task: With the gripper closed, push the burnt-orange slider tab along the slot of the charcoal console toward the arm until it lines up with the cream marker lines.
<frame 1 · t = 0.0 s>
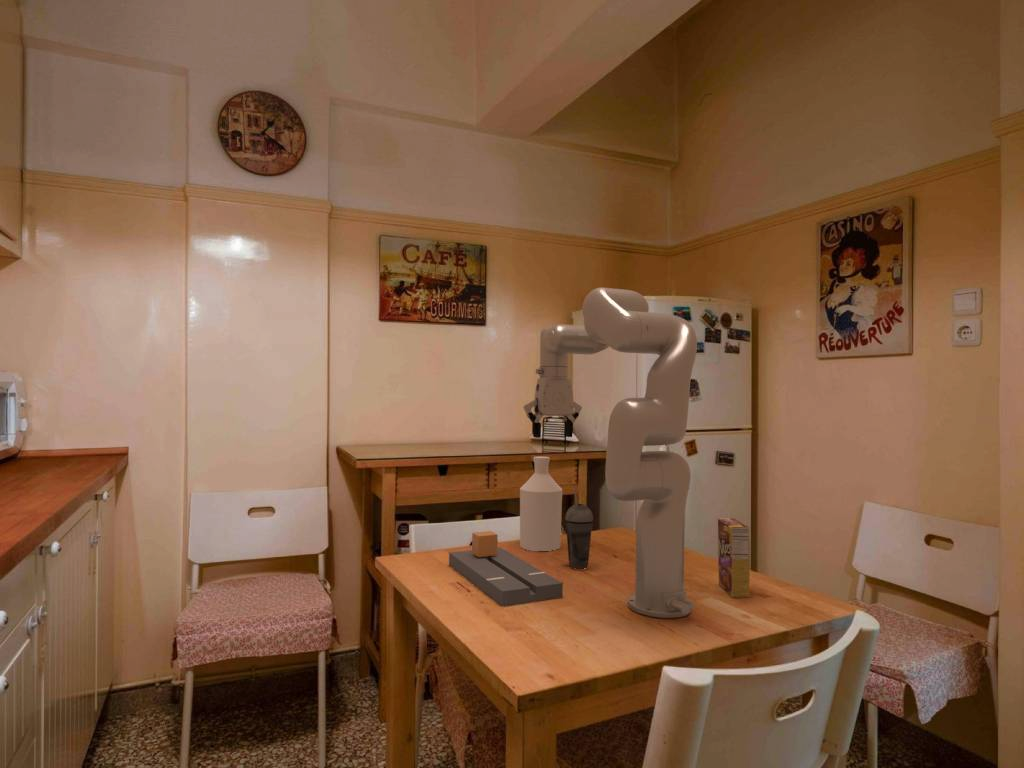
hand: (552, 437, 165), 31 cm above the table, tool pointing down, fingers open, 9 cm apart
beverage cup: (578, 567, 152), on the table
console: (501, 579, 140), on the table
candy box: (732, 592, 135), on the table
slider tab: (484, 547, 150), point 5 cm above the table, slide at 10.0 cm
bottle: (540, 547, 171), on the table
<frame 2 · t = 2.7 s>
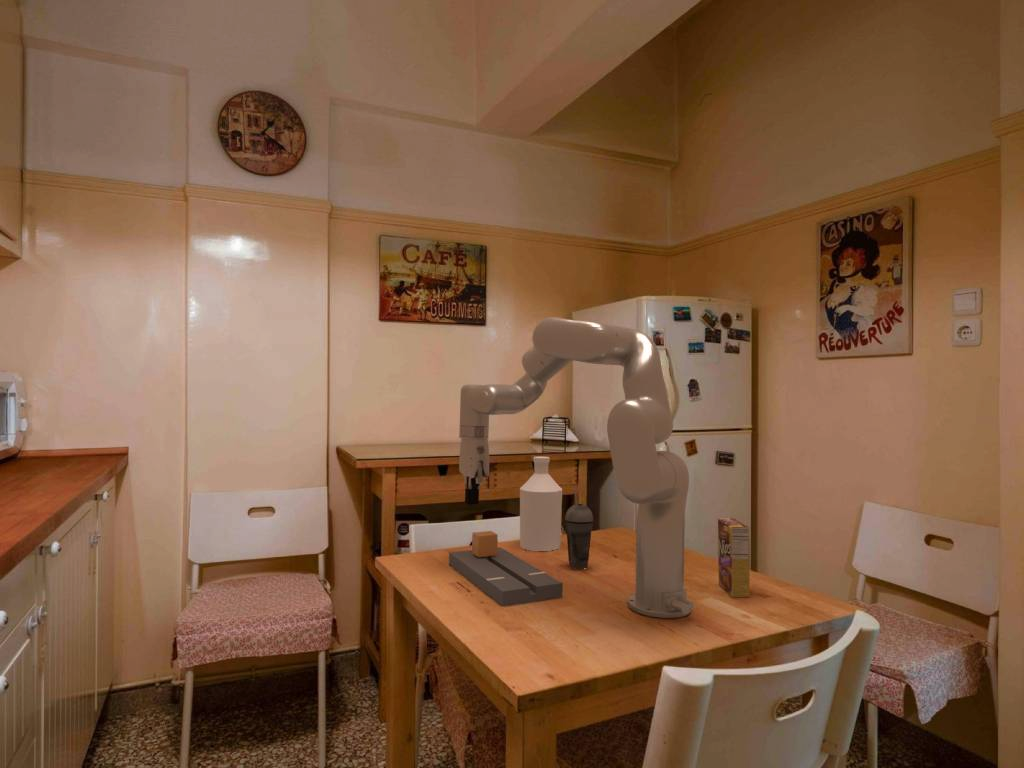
hand: (471, 503, 157), 14 cm above the table, tool pointing down, fingers closed
nothing on the table moved.
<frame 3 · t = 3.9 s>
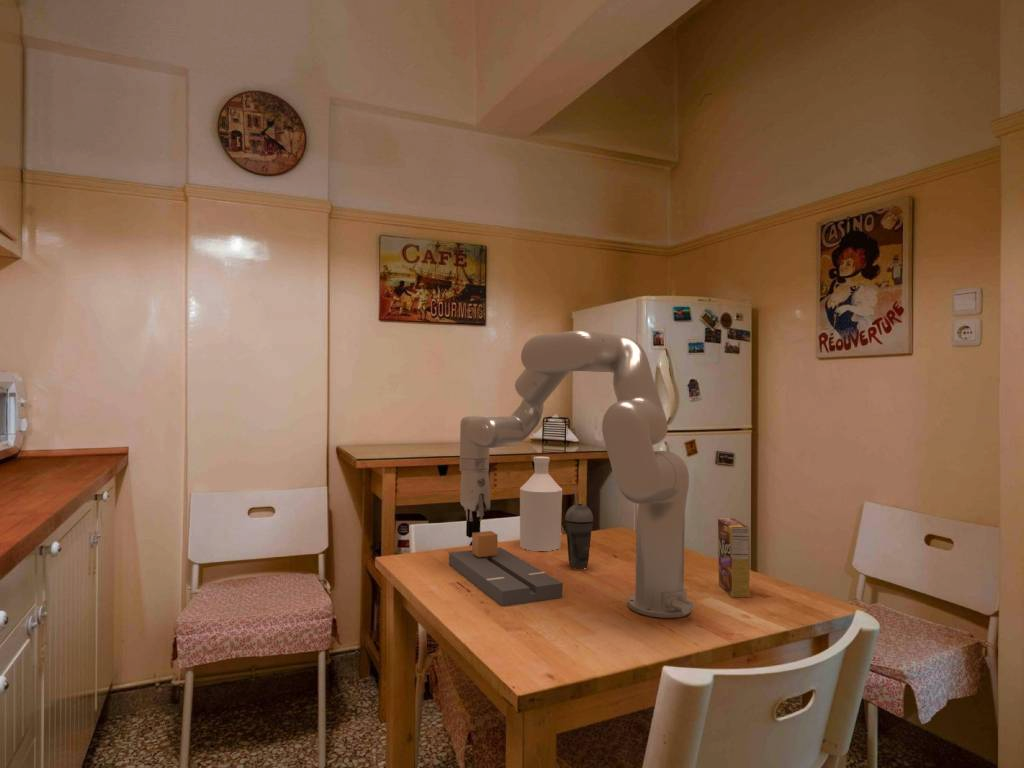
hand: (473, 536, 156), 6 cm above the table, tool pointing down, fingers closed
nothing on the table moved.
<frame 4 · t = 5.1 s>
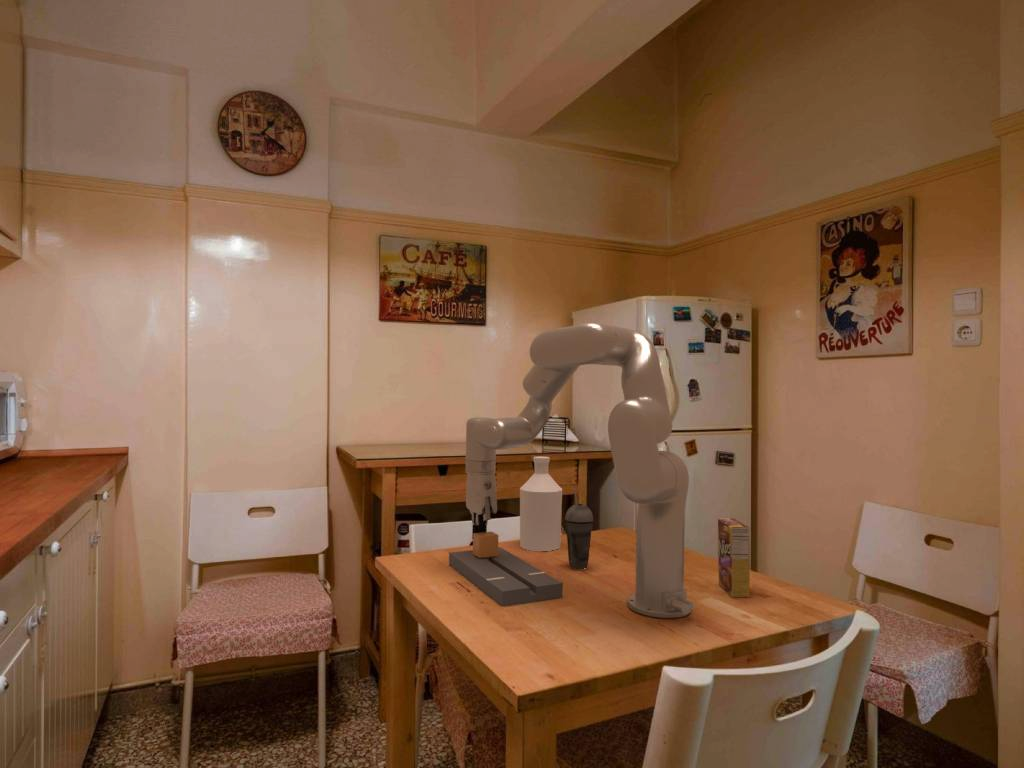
hand: (479, 540, 153), 6 cm above the table, tool pointing down, fingers closed
slider tab: (485, 547, 149), point 5 cm above the table, slide at 9.4 cm, touching gripper
everything else where it was.
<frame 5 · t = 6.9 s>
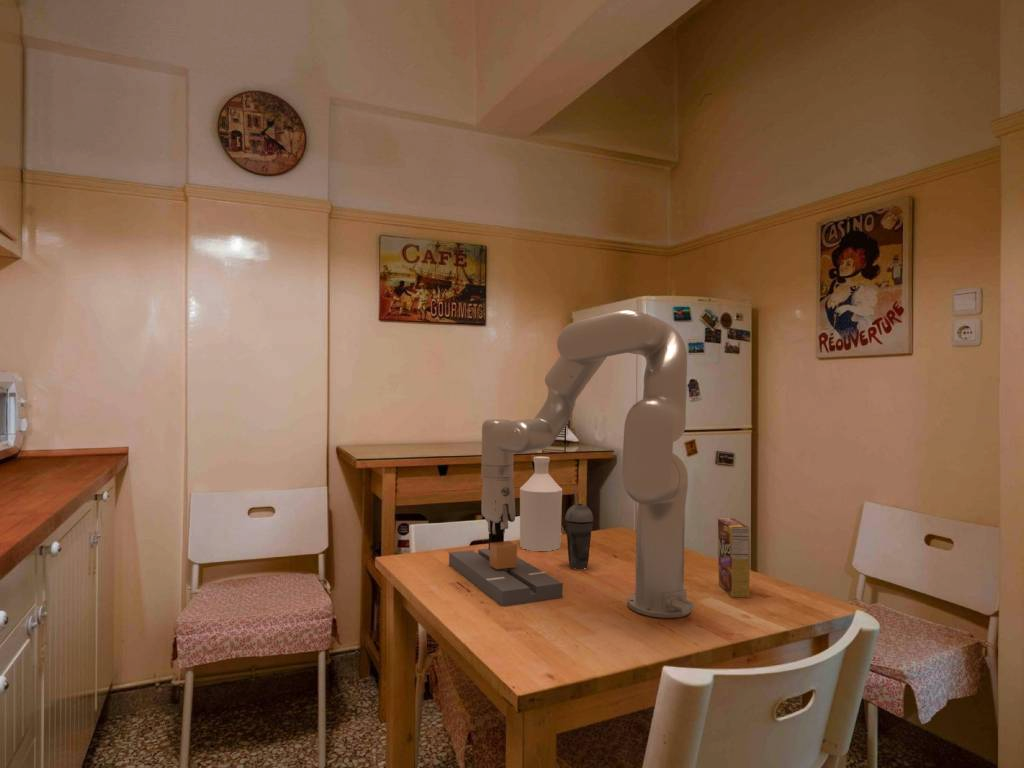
hand: (496, 550, 143), 6 cm above the table, tool pointing down, fingers closed
slider tab: (503, 558, 140), point 5 cm above the table, slide at -0.9 cm, touching gripper
everything else where it was.
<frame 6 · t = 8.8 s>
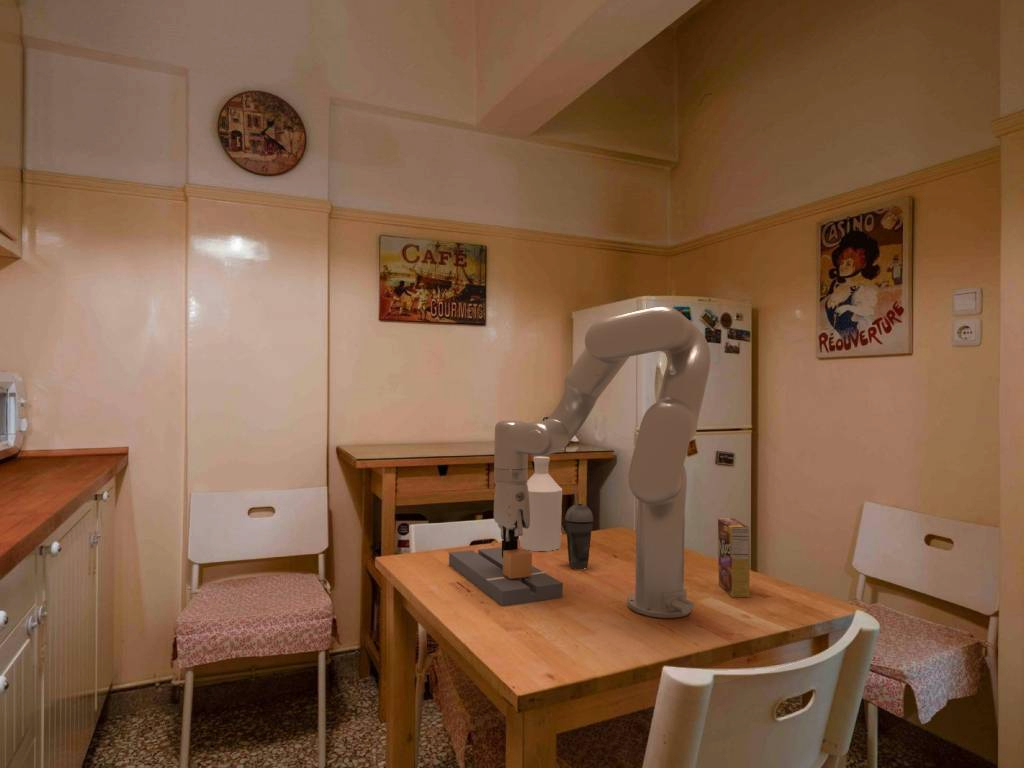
hand: (509, 557, 137), 6 cm above the table, tool pointing down, fingers closed
slider tab: (517, 567, 133), point 5 cm above the table, slide at -8.3 cm, touching gripper
everything else where it was.
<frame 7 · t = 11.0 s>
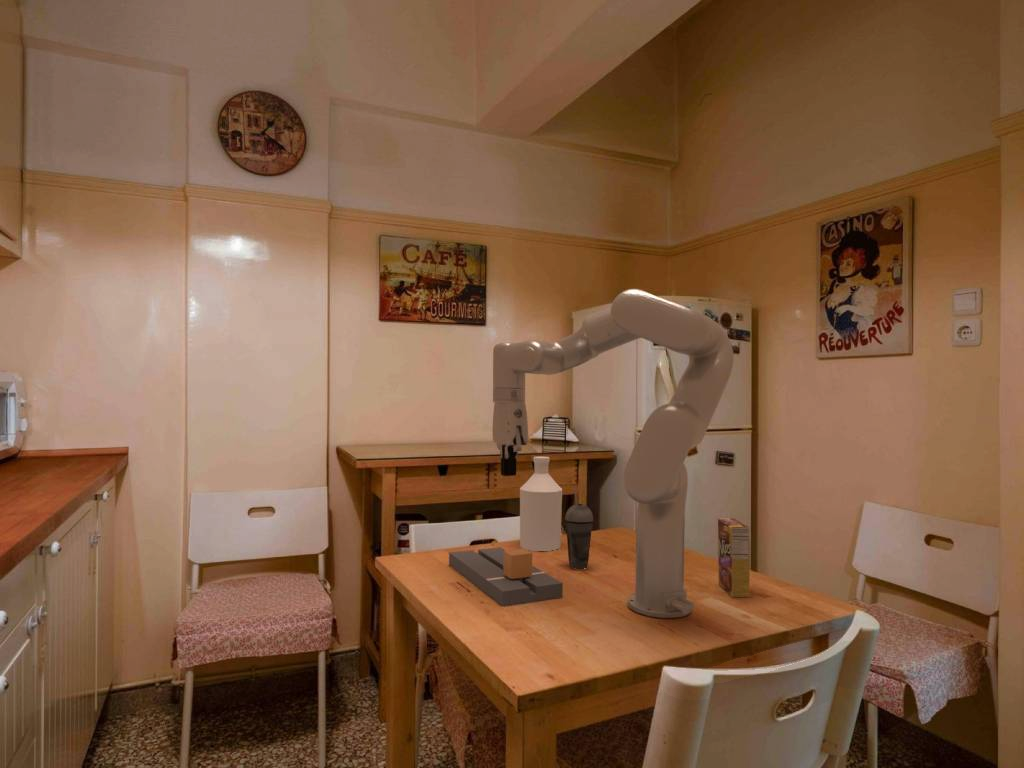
hand: (508, 475, 142), 24 cm above the table, tool pointing down, fingers closed
slider tab: (517, 567, 133), point 5 cm above the table, slide at -8.5 cm
everything else where it was.
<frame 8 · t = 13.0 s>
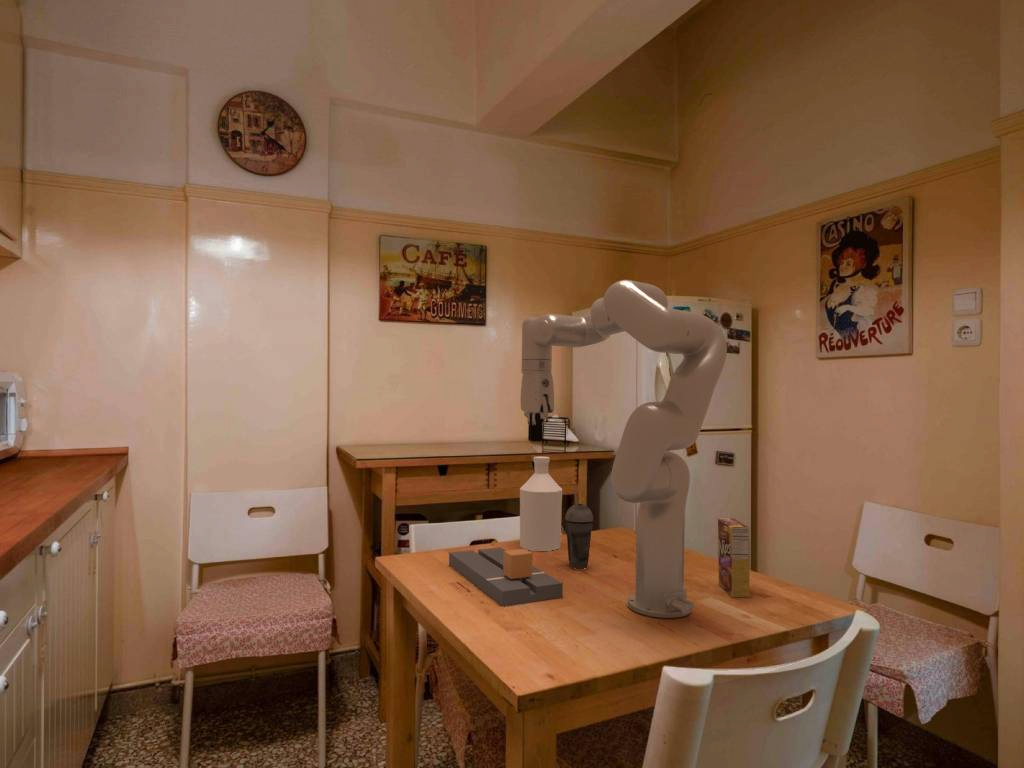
hand: (535, 440, 152), 31 cm above the table, tool pointing down, fingers closed
nothing on the table moved.
at the end: slider tab slide at -8.5 cm; the gripper is holding nothing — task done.
